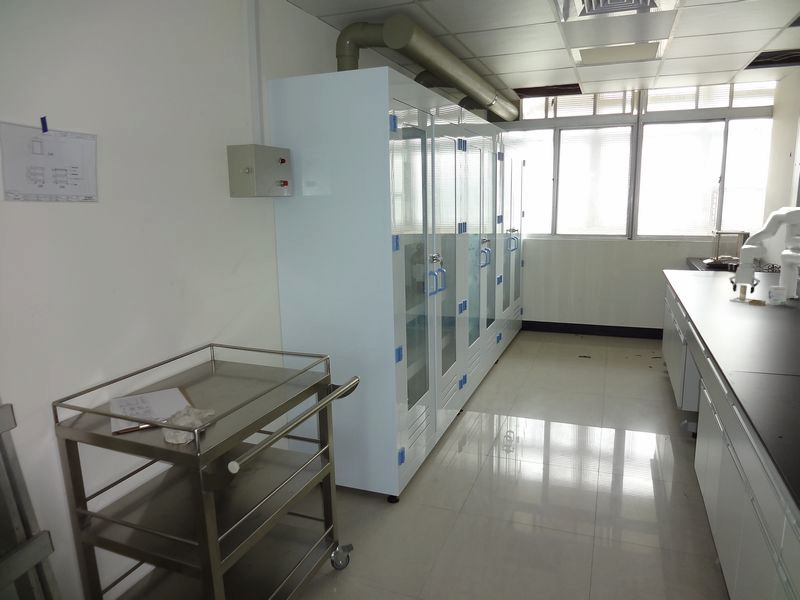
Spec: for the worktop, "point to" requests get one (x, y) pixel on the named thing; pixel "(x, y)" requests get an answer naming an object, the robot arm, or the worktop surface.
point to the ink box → (777, 295)
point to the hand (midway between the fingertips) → (743, 292)
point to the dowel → (743, 293)
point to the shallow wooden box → (757, 302)
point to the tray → (739, 300)
